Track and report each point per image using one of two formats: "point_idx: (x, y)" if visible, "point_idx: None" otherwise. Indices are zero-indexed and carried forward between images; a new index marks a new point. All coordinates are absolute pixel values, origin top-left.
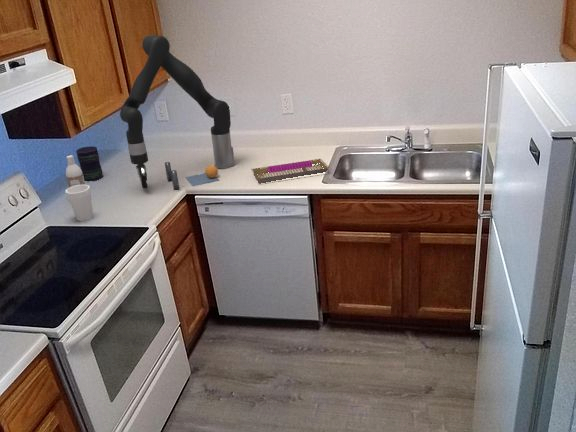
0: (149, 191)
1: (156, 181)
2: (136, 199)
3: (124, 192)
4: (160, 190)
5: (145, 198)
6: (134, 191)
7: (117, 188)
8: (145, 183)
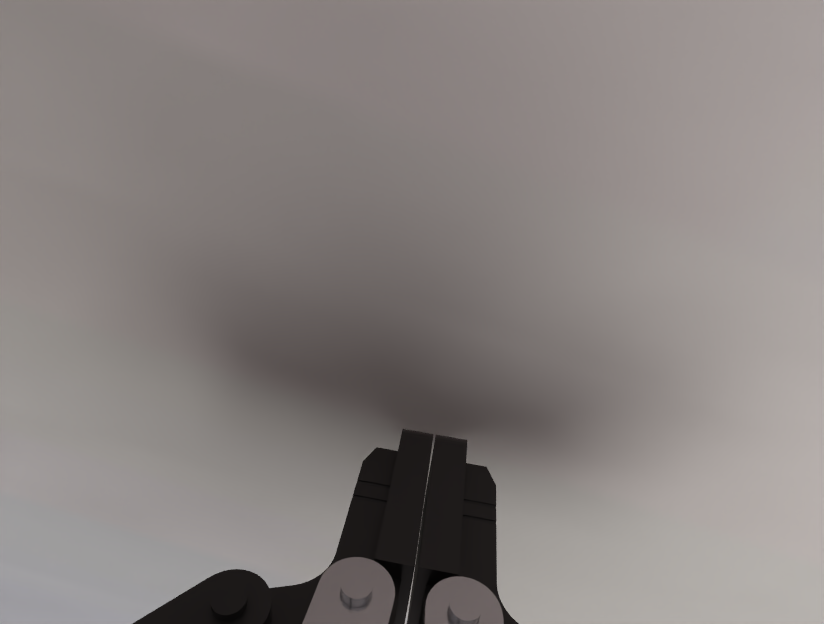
0: (509, 384)
1: (34, 81)
2: (675, 612)
3: None
4: (636, 206)
5: (765, 530)
6: (336, 530)
7: (98, 612)
8: (494, 554)
